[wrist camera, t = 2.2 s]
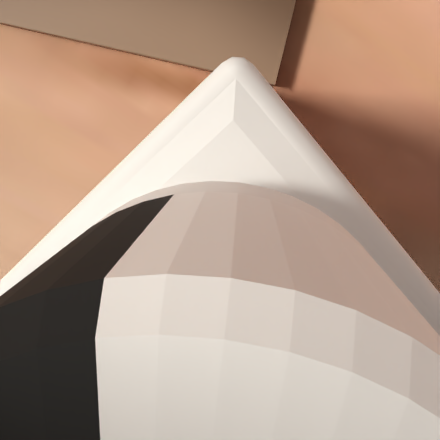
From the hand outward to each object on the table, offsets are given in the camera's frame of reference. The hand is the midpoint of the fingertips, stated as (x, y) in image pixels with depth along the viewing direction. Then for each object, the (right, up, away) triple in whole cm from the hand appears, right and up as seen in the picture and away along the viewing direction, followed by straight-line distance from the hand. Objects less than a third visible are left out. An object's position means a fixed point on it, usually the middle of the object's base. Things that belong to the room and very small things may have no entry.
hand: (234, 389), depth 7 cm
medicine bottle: (0, +3, +7) cm, 8 cm away
